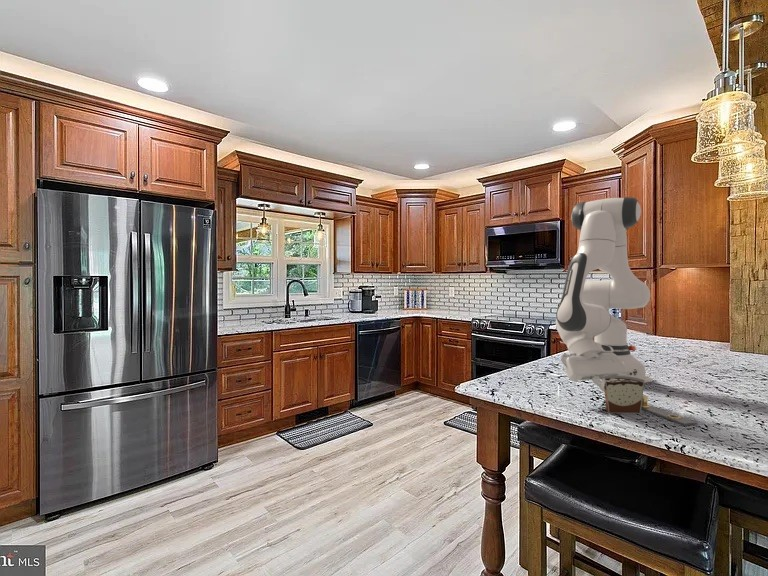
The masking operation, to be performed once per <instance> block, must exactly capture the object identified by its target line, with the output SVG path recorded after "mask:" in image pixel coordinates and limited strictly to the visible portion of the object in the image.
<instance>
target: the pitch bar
mask: <svg viewBox="0 0 768 576" xmlns="http://www.w3.org/2000/svg"><path fill="white" fill-rule="evenodd" d="M648 397H649V396H647V395H644V394H643V398H642V407H641V409H642V410H641V411H645V412H646V411H647V412H646V413H649V412H650V413H649V414H652V415H654V414H655V416H657V417H660V418H662V417H663V418H662V419H666V420H667V421H670V420H671V422H673V423H675V424H678V423H679V425H680V426H684V427H686V426H696V425H695V424H697V425H698V422H697V421H695V420H692V419H689V418H686V417H684V416H681V415H678V414H675V413H673V412H671V411H667V410H664V409H661V408H658V407H655V406H653V405H650V404H648V400H649V399H648Z"/></svg>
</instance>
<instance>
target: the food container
mask: <svg viewBox="0 0 768 576" xmlns="http://www.w3.org/2000/svg"><path fill="white" fill-rule="evenodd" d="M601 385H602V386H603V387H604V391H603V392H604V400H605V410H606V413H607V412H608V413H607V414H609V413H641V414H642V410H641V407H642V398H643V395H644V388H646V387H647V385H646V383H645V382H644V380H642V379H639V378H634V377H628V376H605V377H604V378H603V380H602V384H601Z"/></svg>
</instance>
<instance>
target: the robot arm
mask: <svg viewBox="0 0 768 576" xmlns="http://www.w3.org/2000/svg"><path fill="white" fill-rule="evenodd" d="M641 214H642V208H641V204H640V202H639V200H638V199H637V198H636V197H632V196H625V197H608V198H604V199H595V200H591V201H582V202H579V203H576V204H575V206H573V208H572V212H571V216H570V217H571V222H572V225H573V227H574V228H575V229H577V230H578V231H580V232H579V233H580V234H579V241H578V242H579V243H578V248H577V252H576V254H575V255H574V256H572V258H571V260H570V261H569V266H568V269H567V273H566V277H565V282H564V286H563V291H562V294H561V298H560V299H561V300H560V302H559V304H558V306H557V309H556V313H555V317H556V318H555V328H556V330H557V332H558V335H559V337H560V338H561V340H562V341H563V343H564V344H565V345H566V347H567V351H568V353H564V354H562V355H561V356H560V361H561V363H562V364H563V367H564V368H563V369H564V371H565V373H566V375H567V379H569V380H570V381H572V382H579V381H591V382H592V383H593V384H595V385H596V386H597V387H598V389H600V390H601V392H604V387H603V386H602V385H601V384H602V380H603V378H604V377H605V376H628V377H634V378H639V379H642V380H644V382H645V384H646V383H652V382H653V381H654V378H652V377H650V376H647V375H646V368H645V365H644V364H643V363H642V362H641V361H640V360H638V359H637V358H636V357H635V356H633V355H632V354H631V352H636V350H637V347H636V345H632V344H631V345H628V344H627V342H628V339H627V338H628V337H627V335H628V329H627V328H628V327H627V325H626V323H625V322H624V321H623V320H621V319H619V318H618V317H616V316H613V315H612V314H611V312H610V311H609V310H610V309H617V310H618V309H619V310H620V309H622V310H634V309H635V310H636V309H641V308H644V307H646V306H647V304H648V303H649V302H650V299H651V290H650V288H649V286H648V285H647V284H646V283H645V282H643V281H642V280H640V279H639V278H638V277H636V275H635V274H634V273H633V271H632V270H631V267H630V265H629V259H628V238H627V237H628V236H627V231H628V230H629V229H630V228H631V227H634V226H635V225H636V224H637V223H639V220H640V217H641ZM596 270H600V271H601V272H603V273H606V274H608V275H609V276H610V277H611V278H612V279H611V280H587V277H588V275H589V274H590V273H591V272H592V271H596ZM586 280H587V281H586Z"/></svg>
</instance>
